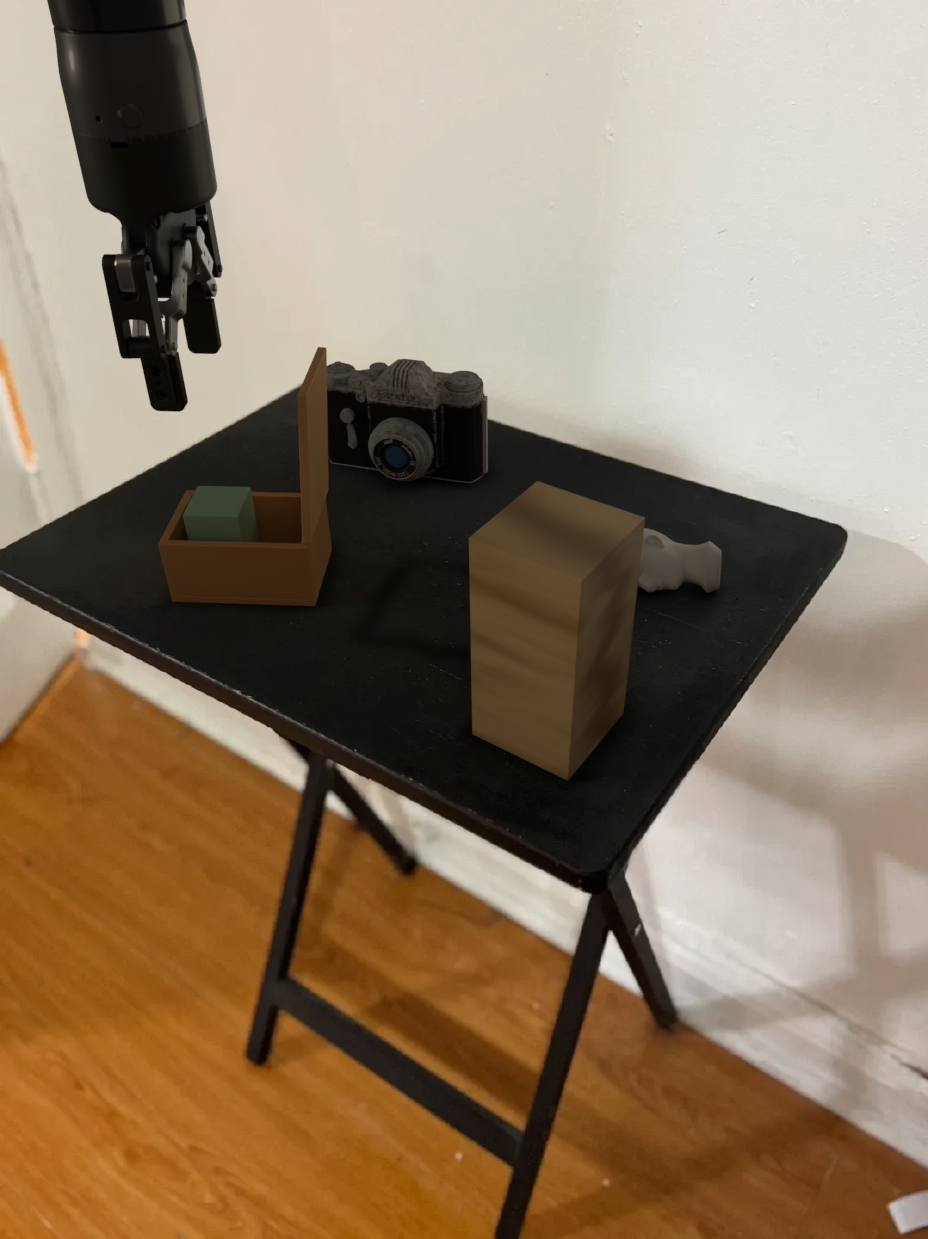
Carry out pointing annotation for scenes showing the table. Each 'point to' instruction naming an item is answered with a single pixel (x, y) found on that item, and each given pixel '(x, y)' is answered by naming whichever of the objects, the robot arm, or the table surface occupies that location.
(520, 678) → the post
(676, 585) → the pale two-lobed sculpture
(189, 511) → the block
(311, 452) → the case lid
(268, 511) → the case
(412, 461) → the camera
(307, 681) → the table surface
